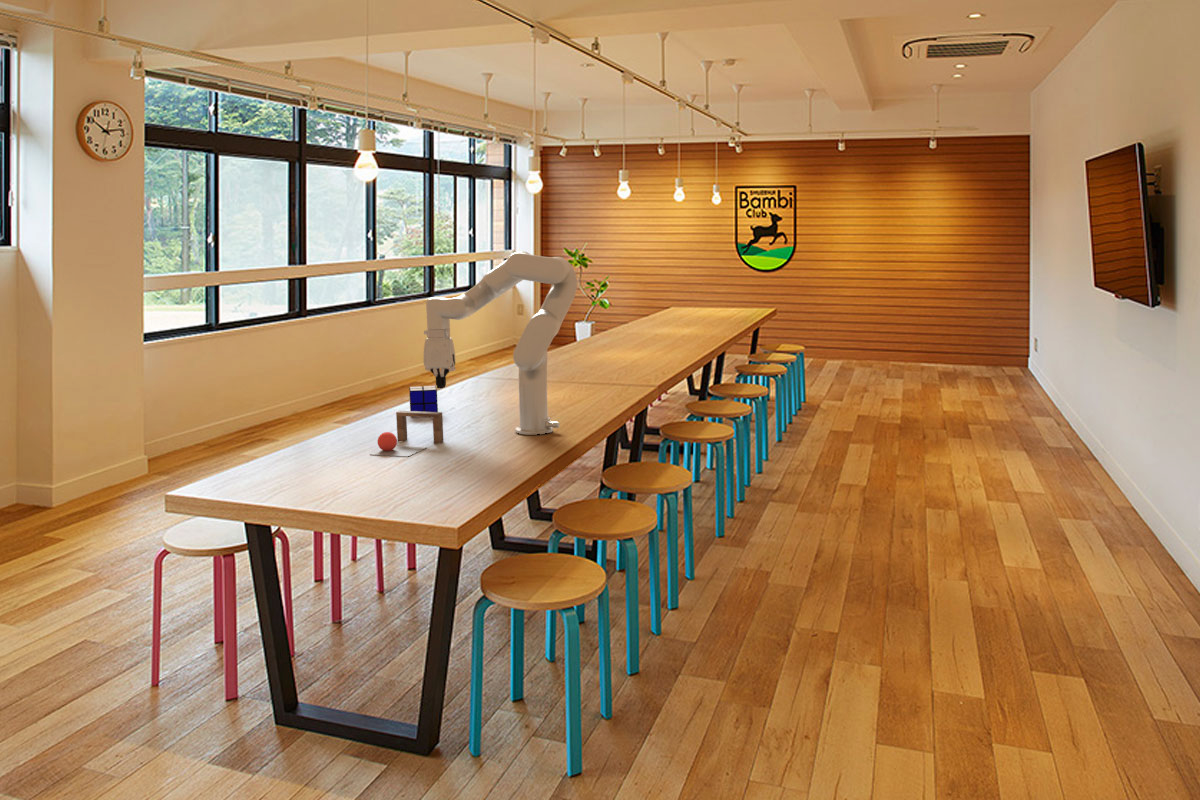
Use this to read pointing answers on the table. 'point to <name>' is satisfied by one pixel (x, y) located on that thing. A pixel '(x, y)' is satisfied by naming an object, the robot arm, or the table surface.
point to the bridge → (402, 416)
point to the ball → (387, 441)
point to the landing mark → (399, 451)
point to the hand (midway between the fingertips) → (441, 387)
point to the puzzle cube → (423, 399)
